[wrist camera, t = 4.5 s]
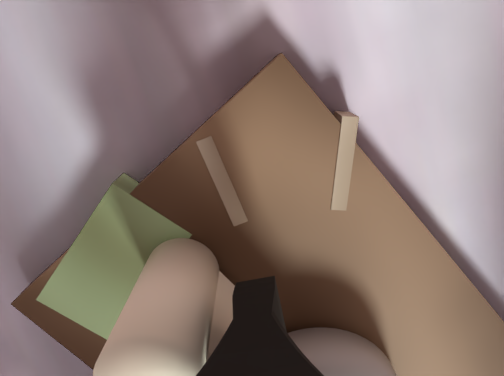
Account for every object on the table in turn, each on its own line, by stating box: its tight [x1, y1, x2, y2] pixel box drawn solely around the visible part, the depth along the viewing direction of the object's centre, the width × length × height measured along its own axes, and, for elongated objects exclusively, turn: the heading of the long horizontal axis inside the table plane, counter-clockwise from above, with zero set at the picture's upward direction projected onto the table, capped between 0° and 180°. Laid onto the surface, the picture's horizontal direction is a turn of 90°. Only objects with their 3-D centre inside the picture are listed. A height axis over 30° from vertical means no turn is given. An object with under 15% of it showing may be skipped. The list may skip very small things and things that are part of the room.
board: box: [11, 53, 504, 376], centre depth 15 cm, size 13×18×1 cm
